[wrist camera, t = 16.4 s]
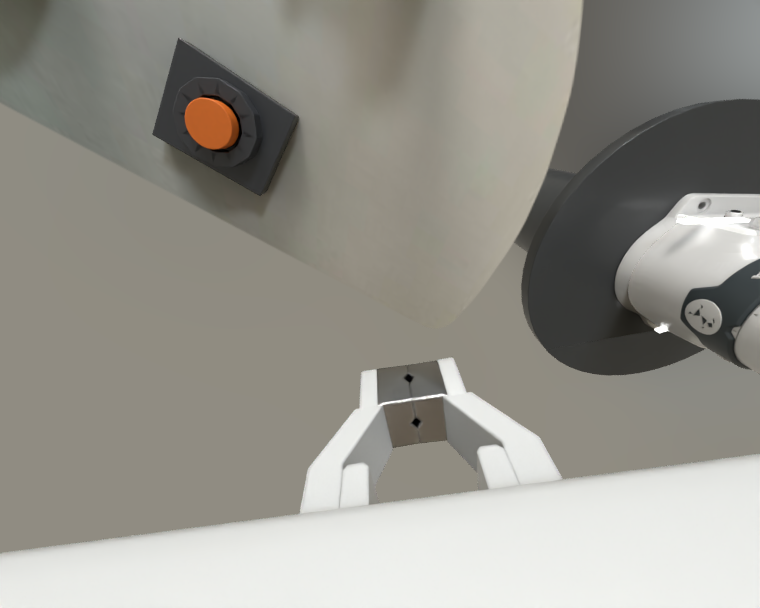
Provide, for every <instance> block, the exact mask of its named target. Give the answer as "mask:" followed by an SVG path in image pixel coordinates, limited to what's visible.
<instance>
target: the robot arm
mask: <svg viewBox="0 0 760 608" xmlns="http://www.w3.org/2000/svg"><path fill="white" fill-rule="evenodd" d="M699 204H700V205H699ZM615 293H616V296H617V299H618V300H619V302H620V303H621V304H622V305H623V306H624V307H625V308H626V309H628V310H630V311H632V312H634V313H637V314H638V315H640V317H641V319H642V320H643V322H644V323H645V324H646V325H648V326H650V327H652V328H655V331H656V332H658V333H662V332H666V331H669V332H671V333H673V334H675V335H677V336H679V337H681V338H683V339H685V340H687V341H689V342H691V343H693V344H695V345H697V346H699V347H701V348H708V349H710V350H712V351H713V352H715V353H716V354H717V355H718V356H719V357H721V358H723V359H724V360H727V361H729V362H732V363H734V364H735V365H737V366H739V367H741V368H745V369H750V370H754V371H755V372H757V373H758V374H760V194H717V193H691V194H687V195H685V196H684V197H683V198H682V199H680V200H679V201H678V202H677V204H676V205H675V206H674V207H673V208H672V209H671V211H670V212H669V213H668V214H667V216H666V217H665V218H663V219H662V220H661V221H660V222H658V223H657V224H656V225H654V226H653V227H651V228H650V229H649V230H647V231H646V232H645V233H644V234H643V235H642V236H640V237H639V238H638V239H637V240H636V241H635V243H634V244H633V245H632V246H631V247H630V248H629V250H628V251H627V253H626V254H625V256H624V257H623V259H622V261H621V263H620V265H619V267H618V270H617V273H616V277H615ZM445 440H447V441H448V443H449V444H450V445H451V446H452V447H453V448H454V449H455V450H456V451H457V452H458V453H459V454H460V455H461V456H462V457H463V458H464V459H465V460H466V461H467V462H468V463H469V465H471V467H472V468H473V469H474V470H475V471H476V472H477V473H478V491H471V492H464V493H456V494H448V495H441V496H433V497H425V498H417V499H410V500H402V501H394V502H387V503H379V500H378V497H377V493H376V490H375V485H376V483H377V481H378V479H379V477H380V475H381V473H382V471H383V469H384V467H385V465H386V463H387V461H388V459H389V457H390V455H391V452H392V450H393V448H394V447H401V446H407V445H412V444H418V443H427V442H436V441H445ZM0 608H760V454H754V455H747V456H739V457H731V458H724V459H716V460H708V461H701V462H693V463H685V464H678V465H670V466H663V467H654V468H647V469H640V470H632V471H624V472H616V473H608V474H601V475H593V476H585V477H578V478H570V479H562V477H561V475H560V473H559V471H558V470H557V468H556V466H555V464H554V463H553V461H552V459H551V457H550V455H549V454H548V452H547V450H546V448H545V447H544V445H543V443H542V441H541V439H540V438H539V437H538V436H537V435H535V434H534V433H532V432H531V431H529V430H528V429H526V428H525V427H523V426H522V425H520V424H519V423H517V422H516V421H514V420H513V419H511V418H509V417H508V416H507V415H505V414H504V413H502V412H500V411H499V410H498V409H496V408H495V407H493V406H492V405H490V404H488V403H487V402H485V401H484V400H483V399H481V398H479V397H478V396H476V395H475V394H474V393H472V392H469V393H467V392H466V390H465V387H464V384H463V382H462V379H461V376H460V374H459V371H458V369H457V366H456V363H455V361H454V359H453V358H445V359H440V360H437V361H430V362H423V363H418V364H411V365H404V366H396V367H388V368H381V369H375V370H368V371H362V373H361V382H360V408H359V409H355V410H354V411H353V413H352V414H351V415H350V416H349V418H348V419H347V420H346V421H345V423H344V424H343V425H342V426H341V428H340V429H339V430H338V431H337V433H336V434H335V435H334V436H333V438H332V439H331V440H330V442H329V443H328V444H327V445H326V447H325V448H324V449H323V450H322V452H321V453H320V454H319V455H318V457H317V458H316V459H315V460H314V462H313V463H312V464H311V466H310V467H309V468H308V471H307V477H306V482H305V487H304V493H303V498H302V503H301V508H300V514H296V515H287V516H279V517H272V518H264V519H256V520H249V521H242V522H234V523H226V524H218V525H210V526H203V527H196V528H187V529H180V530H172V531H165V532H157V533H149V534H141V535H134V536H126V537H118V538H111V539H103V540H96V541H88V542H81V543H73V544H66V545H58V546H50V547H43V548H35V549H28V550H20V551H12V552H5V553H0Z"/></svg>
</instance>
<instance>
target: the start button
mask: <svg viewBox="0 0 760 608" xmlns="http://www.w3.org/2000/svg"><path fill="white" fill-rule="evenodd" d="M185 124H186V127H187V130H188V132H189V134H190V135H191V137H192V138H193V139H194V140H195V141H196V142H197V143H198V144H200V145H201V146H203V147H205V148H208V149H213V150H216V149H224V148H228V147H230V146H232V145H233V144H234V143H235V142H236V140H237V138H238V135H239V125H238V121H237V118H236V116H235V114H234V113H233V111H232V110H231V109H230V108H229V107H228V106H227V105H225V104H224V103H222V102H220V101H218V100H214V99H209V98H197V99H195V100H193V101H192V102H190V103H189V105H188V106H187V108H186V111H185Z"/></svg>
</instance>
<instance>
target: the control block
mask: <svg viewBox="0 0 760 608" xmlns="http://www.w3.org/2000/svg"><path fill="white" fill-rule="evenodd" d="M197 98H209V99H214V100H218V101H220V102H222V103H224V104H225V105H227V106H228V107H229V108H230V109H231V110H232V111H233V113H234V114H235V116H236V118H237V121H238V125H239V135H238V138H237V140H236V142H235V143H234V144H233V145H232V146H230V147H228V148H224V149H216V150H213V149H208V148H205V147H203V146H201V145H200V144H198V143H197V142H196V141H195V140H194V139H193V138H192V137H191V135H190V134H189V132H188V130H187V127H186V124H185V111H186V108H187V106H188V105H189V103H190V102H192V101H193V100H195V99H197ZM298 119H299V116H297V115H296V114H295V113H293V112H292V111H290V110H289V109H287V108H286V107H284V106H283V105H281V104H280V103H278V102H277V101H275V100H274V99H272V98H271V97H269V96H268V95H266V94H265V93H263V92H262V91H260V90H259V89H257V88H256V87H254V86H253V85H251V84H250V83H248V82H247V81H245V80H244V79H243V78H241V77H240V76H238V75H237V74H235V73H234V72H232V71H231V70H229V69H228V68H226V67H225V66H223V65H222V64H220V63H219V62H217V61H216V60H214V59H213V58H211V57H210V56H208V55H207V54H205V53H204V52H202V51H201V50H199V49H198V48H196V47H195V46H193V45H192V44H190V43H188V42H186V41H184V40H183V39H181V38H178V41H177V45H176V49H175V52H174V56H173V60H172V63H171V67H170V71H169V75H168V78H167V82H166V86H165V89H164V93H163V97H162V101H161V104H160V108H159V112H158V115H157V119H156V123H155V127H154V130H153V135H154V136H156V137H158V138H159V139H161V140H163V141H165V142H166V143H168V144H170V145H172V146H173V147H175V148H177V149H179V150H180V151H182V152H184V153H186V154H187V155H189V156H191V157H193V158H194V159H196V160H198V161H200V162H202V163H203V164H205V165H207V166H209V167H210V168H212V169H214V170H216V171H217V172H219V173H221V174H223V175H224V176H226V177H228V178H230V179H231V180H233V181H235V182H237V183H238V184H240V185H242V186H244V187H245V188H247V189H249V190H251V191H252V192H254V193H256V194H258V195H259V196H261V195H262V194H264V193H265V192H266V191H267V189H268V187H269V184H270V182H271V180H272V178H273V175H274V173H275V171H276V169H277V166H278V164H279V162H280V160H281V157H282V155H283V153H284V151H285V148H286V146H287V144H288V141H289V139H290V137H291V135H292V132H293V130H294V128H295V126H296V123H297V121H298Z"/></svg>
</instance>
